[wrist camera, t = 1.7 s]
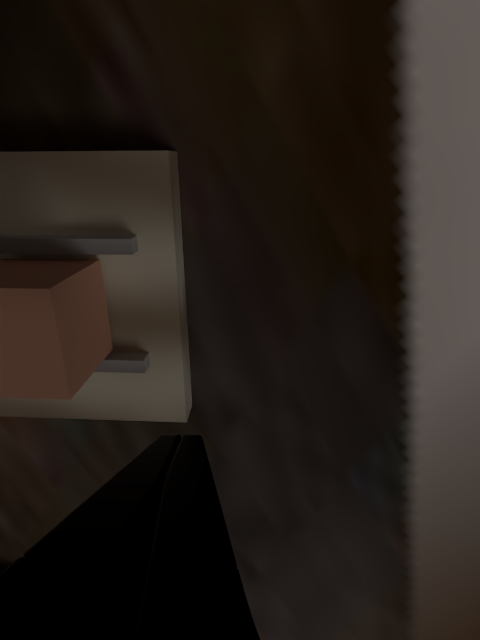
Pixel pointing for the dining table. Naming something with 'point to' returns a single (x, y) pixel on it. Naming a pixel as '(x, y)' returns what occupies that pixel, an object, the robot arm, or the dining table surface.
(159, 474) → the robot arm
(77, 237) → the track board
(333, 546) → the dining table surface
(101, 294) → the terracotta cardboard box
